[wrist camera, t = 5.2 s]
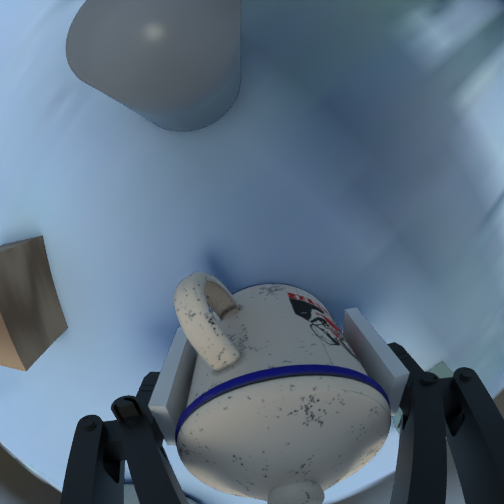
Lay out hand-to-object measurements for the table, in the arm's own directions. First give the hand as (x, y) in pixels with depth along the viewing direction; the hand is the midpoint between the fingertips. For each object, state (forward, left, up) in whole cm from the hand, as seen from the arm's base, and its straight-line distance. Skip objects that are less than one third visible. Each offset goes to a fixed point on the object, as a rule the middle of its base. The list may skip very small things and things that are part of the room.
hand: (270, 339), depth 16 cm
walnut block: (-4, -17, -2) cm, 18 cm away
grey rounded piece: (-15, -3, -2) cm, 16 cm away
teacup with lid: (0, -1, -2) cm, 2 cm away
